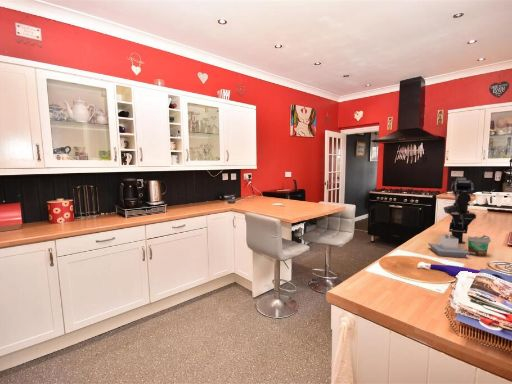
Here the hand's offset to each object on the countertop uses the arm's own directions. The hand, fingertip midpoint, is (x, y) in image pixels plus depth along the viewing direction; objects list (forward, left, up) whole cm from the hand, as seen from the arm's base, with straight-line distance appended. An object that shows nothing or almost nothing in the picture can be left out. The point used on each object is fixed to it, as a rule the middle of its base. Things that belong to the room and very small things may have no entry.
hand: (459, 227), depth 150 cm
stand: (+13, -11, -12) cm, 21 cm away
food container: (+12, +5, -12) cm, 18 cm away
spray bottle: (+42, -22, -13) cm, 50 cm away
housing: (+13, -11, -9) cm, 19 cm away
